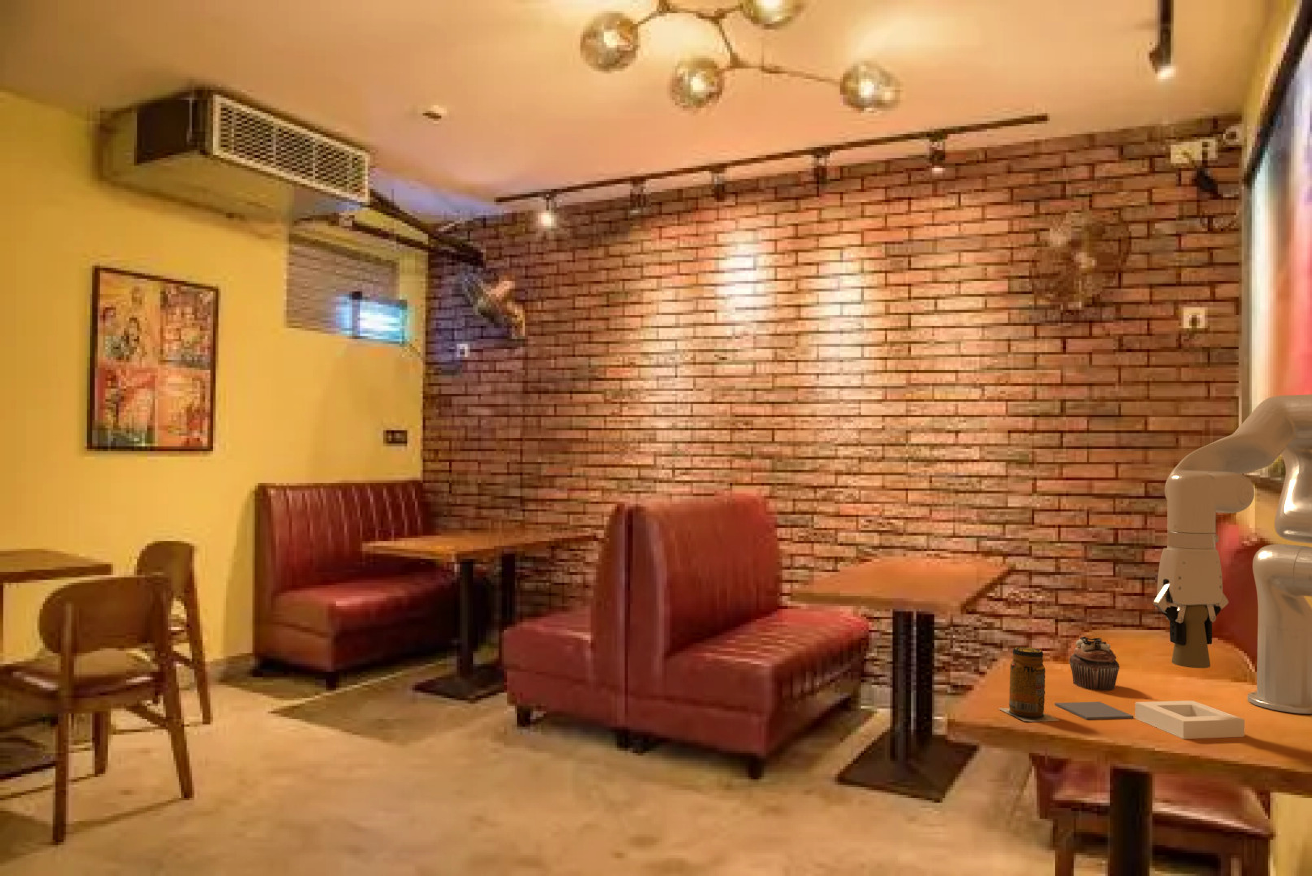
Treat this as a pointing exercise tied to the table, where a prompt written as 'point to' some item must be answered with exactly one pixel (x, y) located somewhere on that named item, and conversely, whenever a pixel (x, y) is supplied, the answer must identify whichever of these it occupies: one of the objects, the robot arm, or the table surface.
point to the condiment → (1027, 686)
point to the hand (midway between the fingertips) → (1190, 642)
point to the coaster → (1093, 710)
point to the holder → (1189, 719)
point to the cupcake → (1094, 665)
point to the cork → (1193, 640)
